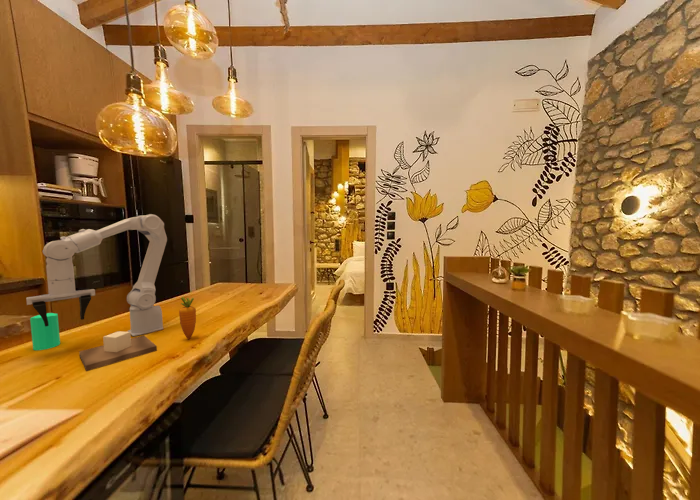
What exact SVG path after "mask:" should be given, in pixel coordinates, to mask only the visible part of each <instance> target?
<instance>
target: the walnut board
mask: <svg viewBox="0 0 700 500" xmlns="http://www.w3.org/2000/svg"><path fill="white" fill-rule="evenodd" d="M156 351H158V347H157V345H156V343H154V342H153V341H152V340H150V339H149V338H148V337H147V336H145V334H142V335H141V336H140V335H138V336H134V337H132V338H131V346H130V347H128V348H125V349H123V350H121V351H118V352H107V351H104V344H103V345H100V346H96V347H92V348H88V349H84V350H80V351H78V353H79V358H80V360H81V363H82V364H83V366H84V369H85V371H86V372H89V371H91V370H95V369H97V368H102V367H105V366H108V365H112V364H115V363H119V362H121V361H125V360H129V359H133V358H136V357H139V356H143V355H146V354H149V353H153V352H156Z"/></svg>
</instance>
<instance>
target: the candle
mask: <svg viewBox="0 0 700 500" xmlns="http://www.w3.org/2000/svg"><path fill="white" fill-rule="evenodd" d="M46 313H47V319H48V324H49V326H45V324H44V321H43V319H42V317H41V316H40V314H37V315H34V316H32V317H30V318H29V321H30V322H29V323H30V333H31V341H32V342H31V343H32V350H33V351H42V350H49V349H53V348H55V347H58V346H60V344H61V337H60V336H61V335H60V325H59V315H58V313H56V312H55V313H53V312H46Z"/></svg>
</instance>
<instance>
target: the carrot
mask: <svg viewBox="0 0 700 500" xmlns="http://www.w3.org/2000/svg"><path fill="white" fill-rule="evenodd" d="M180 300H181V301H182V302H181V303H180V305H182V306H183V307H181V308H180V309H179V311H178V315H179V322H180V323H179V324H180V327H181V329H182V332H183V334H184V336H185V337H186V339H188V340H190V339H192V336H193V335H194V332H195V328H196V324H197V323H196V322H197V310H196V307H195V306H193V305H192V303H193V301H194V300H195V298H194V297H191V298H189V297H186V298H185V296H181V297H180Z"/></svg>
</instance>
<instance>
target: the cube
mask: <svg viewBox="0 0 700 500" xmlns="http://www.w3.org/2000/svg"><path fill="white" fill-rule="evenodd" d="M131 336H132V335H131V334H130V332H128V331H120V330H119V331H118V330H117V331H115V332H113V333H109V334H108V335H104V336H103V337H102V339H103V341H102V342H103V345H104V351H107V352H118V351H121V350H123V349H125V348H128V347H130V346H131Z"/></svg>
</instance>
